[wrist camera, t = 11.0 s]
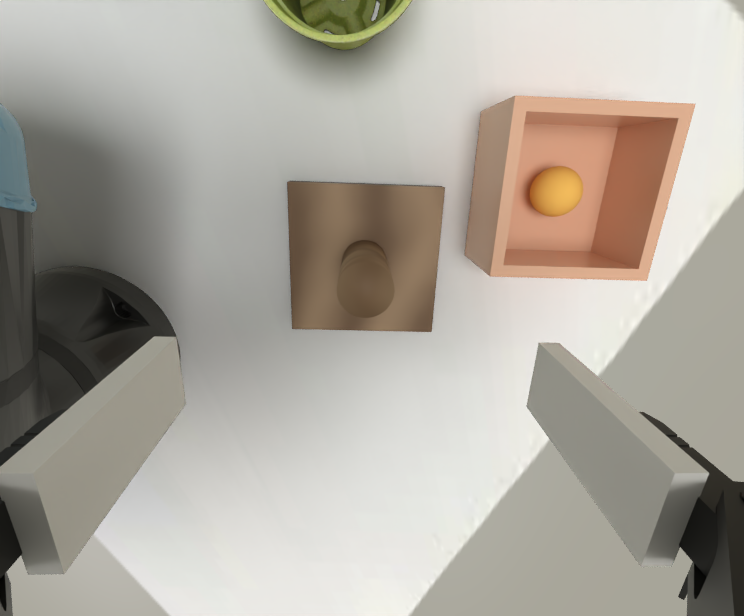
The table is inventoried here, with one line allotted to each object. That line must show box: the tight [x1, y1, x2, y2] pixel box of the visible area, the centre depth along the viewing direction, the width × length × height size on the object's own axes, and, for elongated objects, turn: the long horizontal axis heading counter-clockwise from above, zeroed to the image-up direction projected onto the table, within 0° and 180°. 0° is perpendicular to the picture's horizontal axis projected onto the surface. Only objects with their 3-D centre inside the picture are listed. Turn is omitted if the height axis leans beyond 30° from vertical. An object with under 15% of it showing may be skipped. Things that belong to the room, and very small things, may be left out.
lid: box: [287, 181, 445, 332], centre depth 29 cm, size 12×12×9 cm
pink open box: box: [465, 96, 695, 281], centre depth 29 cm, size 11×11×7 cm
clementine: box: [530, 166, 583, 217], centre depth 29 cm, size 4×4×4 cm
